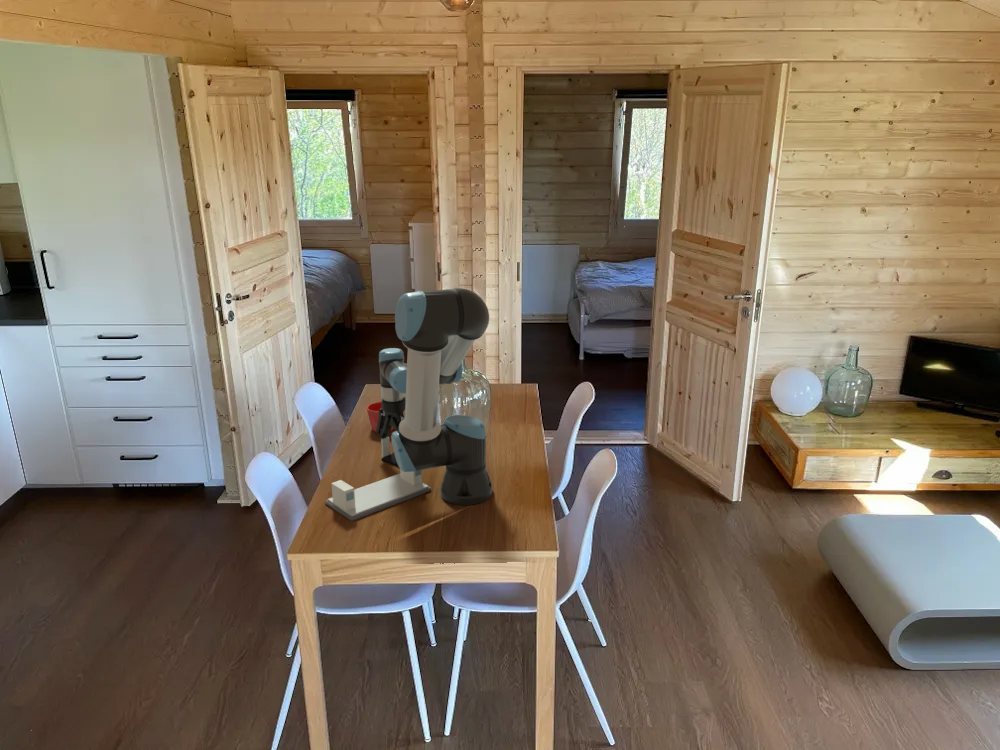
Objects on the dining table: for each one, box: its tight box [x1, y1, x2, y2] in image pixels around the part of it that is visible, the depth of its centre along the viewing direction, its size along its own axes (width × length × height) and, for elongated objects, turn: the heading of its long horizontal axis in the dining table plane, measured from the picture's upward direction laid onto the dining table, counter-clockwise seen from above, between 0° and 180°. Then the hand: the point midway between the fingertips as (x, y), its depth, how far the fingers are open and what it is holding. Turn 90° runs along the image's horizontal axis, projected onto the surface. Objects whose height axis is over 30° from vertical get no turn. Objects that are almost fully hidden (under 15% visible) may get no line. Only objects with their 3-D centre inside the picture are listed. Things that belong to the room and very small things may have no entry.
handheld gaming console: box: [381, 451, 399, 468], centre depth 233 cm, size 11×10×4 cm
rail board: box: [324, 468, 432, 522], centre depth 208 cm, size 14×27×8 cm, turn 133°
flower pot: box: [366, 401, 395, 432], centre depth 257 cm, size 11×11×10 cm
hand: (396, 462), depth 231 cm, fingers closed on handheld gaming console, 11 cm apart
